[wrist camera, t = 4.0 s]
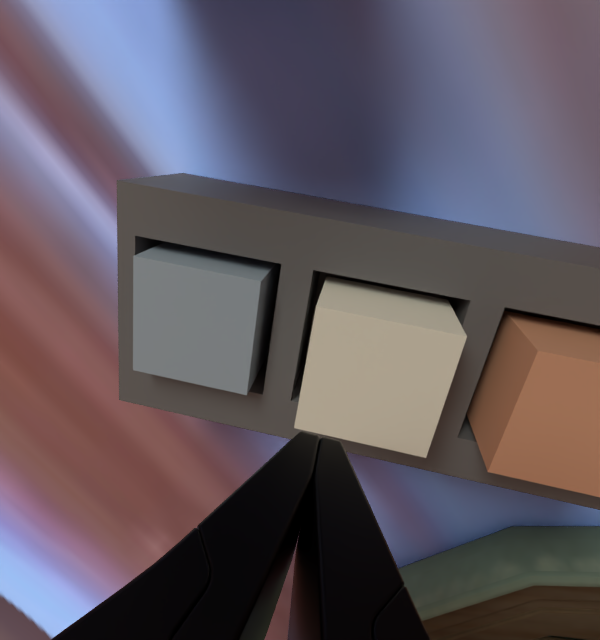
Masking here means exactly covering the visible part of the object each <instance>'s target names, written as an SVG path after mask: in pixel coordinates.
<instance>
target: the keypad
mask: <svg viewBox="0 0 600 640" xmlns="http://www.w3.org/2000/svg"><path fill="white" fill-rule="evenodd" d="M117 242H118V333H119V400H122V401H126V402H130V403H135V404H139V405H144V406H148V407H152V408H157V409H161V410H165V411H170V412H174V413H179V414H183V415H187V416H192V417H196V418H200V419H205V420H209V421H214V422H218V423H222V424H227V425H231V426H235V427H240V428H244V429H248V430H253V431H257V432H262V433H266V434H270V435H275V436H279V437H283V438H288V439H293V438H294V437H295V436H296V435H297V434H298V433H299V432H301V431H304V432H308V433H312V434H316V435H318V436H319V437H320V439H321V437H328V438H332V439H336V440H339V441H341V443H342V445H343V447H344V449H345V451H346V452H349V453H353V454H358V455H362V456H367V457H371V458H375V459H380V460H384V461H388V462H393V463H397V464H402V465H406V466H410V467H415V468H419V469H423V470H428V471H432V472H437V473H441V474H445V475H450V476H454V477H458V478H463V479H467V480H472V481H476V482H480V483H485V484H489V485H493V486H498V487H502V488H507V489H511V490H515V491H520V492H524V493H528V494H533V495H537V496H542V497H546V498H550V499H555V500H559V501H563V502H568V503H572V504H576V505H581V506H585V507H590V508H594V509H598V510H600V497H596V496H592V495H588V494H583V493H579V492H574V491H570V490H565V489H561V488H557V487H552V486H548V485H543V484H539V483H535V482H530V481H526V480H521V479H517V478H512V477H508V476H504V475H499V474H495V473H490V472H488V471H487V468H486V466H485V463H484V460H483V457H482V455H481V452H480V449H479V446H478V444H477V441H476V438H475V435H474V433H473V430H472V427H471V425H470V422H469V419H468V416H467V412H468V409H469V406H470V403H471V401H472V398H473V395H474V392H475V390H476V387H477V384H478V381H479V379H480V376H481V373H482V371H483V368H484V365H485V362H486V360H487V357H488V354H489V351H490V349H491V346H492V343H493V341H494V338H495V335H496V332H497V330H498V327H499V324H500V321H501V319H502V316H503V313H504V311H508V312H513V313H519V314H524V315H529V316H534V317H539V318H544V319H549V320H555V321H560V322H565V323H570V324H575V325H580V326H585V327H591V328H596V329H600V248H599V247H594V246H588V245H583V244H577V243H571V242H566V241H560V240H555V239H549V238H543V237H538V236H532V235H527V234H521V233H516V232H510V231H504V230H499V229H493V228H488V227H482V226H476V225H471V224H465V223H460V222H454V221H448V220H443V219H437V218H432V217H426V216H420V215H415V214H409V213H404V212H398V211H393V210H387V209H381V208H376V207H370V206H365V205H359V204H353V203H348V202H342V201H337V200H331V199H325V198H320V197H314V196H309V195H303V194H297V193H292V192H286V191H281V190H275V189H269V188H264V187H258V186H253V185H247V184H242V183H236V182H230V181H225V180H219V179H214V178H208V177H202V176H197V175H191V174H186V173H179V174H170V175H161V176H152V177H143V178H134V179H124V180H117ZM164 242H171V243H176V244H181V245H186V246H192V247H197V248H202V249H207V250H212V251H217V252H223V253H228V254H233V255H238V256H243V257H248V258H253V259H259V260H264V261H269V262H274V263H279V264H280V267H279V274H278V281H277V288H276V295H275V303H274V310H273V317H272V324H271V331H270V338H269V345H268V352H267V357H266V359H265V361H264V363H263V365H262V367H261V368H260V370H259V372H258V374H257V376H256V378H255V380H254V382H253V384H252V386H251V388H250V390H249V392H248V394H247V395H243V394H239V393H234V392H230V391H225V390H221V389H216V388H212V387H207V386H203V385H198V384H194V383H189V382H184V381H180V380H175V379H171V378H166V377H162V376H157V375H153V374H148V373H144V372H139V371H135V370H133V256H134V255H137V254H139V253H141V252H144V251H146V250H148V249H150V248H153V247H155V246H157V245H160V244H162V243H164ZM327 276H328V277H333V278H338V279H344V280H349V281H354V282H359V283H364V284H369V285H374V286H380V287H385V288H390V289H395V290H400V291H405V292H411V293H416V294H421V295H426V296H431V297H436V298H441V299H447V300H448V301H449V303H450V305H451V307H452V309H453V310H454V312H455V314H456V316H457V318H458V320H459V322H460V324H461V326H462V328H463V330H464V332H465V333H466V335H467V338H466V341H465V344H464V347H463V350H462V353H461V356H460V359H459V362H458V365H457V368H456V371H455V374H454V377H453V380H452V383H451V386H450V389H449V392H448V395H447V397H446V400H445V403H444V406H443V409H442V412H441V415H440V418H439V421H438V424H437V427H436V430H435V433H434V436H433V439H432V442H431V445H430V448H429V451H428V454H427V457H426V458H424V457H420V456H415V455H411V454H406V453H402V452H398V451H393V450H389V449H384V448H380V447H375V446H371V445H367V444H362V443H358V442H353V441H349V440H345V439H340V438H336V437H331V436H327V435H322V434H318V433H314V432H309V431H305V430H300V429H296V428H294V425H295V419H296V414H297V408H298V403H299V397H300V392H301V386H302V381H303V375H304V370H305V364H306V359H307V353H308V348H309V342H310V337H311V331H312V326H313V320H314V315H315V309H316V305H317V302H318V299H319V296H320V294H321V291H322V288H323V285H324V282H325V280H326V277H327Z"/></svg>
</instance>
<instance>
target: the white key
mask: <svg viewBox="0 0 600 640" xmlns="http://www.w3.org/2000/svg"><path fill="white" fill-rule="evenodd" d="M466 338H467V335H466V333H465V332H464V330H463V328H462V326H461V324H460V322H459V320H458V318H457V316H456V314H455V312H454V310H453V309H452V307H451V305H450V303H449V301H448V300H447V299H441V298H436V297H431V296H426V295H421V294H416V293H411V292H405V291H400V290H395V289H390V288H385V287H380V286H374V285H369V284H364V283H359V282H354V281H349V280H344V279H338V278H333V277H328V276H327V277H326V280H325V282H324V285H323V288H322V291H321V294H320V296H319V299H318V302H317V305H316V309H315V315H314V320H313V326H312V331H311V337H310V342H309V348H308V353H307V359H306V364H305V370H304V375H303V381H302V386H301V392H300V397H299V403H298V408H297V414H296V419H295V425H294V428H296V429H300V430H305V431H309V432H314V433H318V434H322V435H327V436H331V437H336V438H340V439H345V440H349V441H353V442H358V443H362V444H367V445H371V446H375V447H380V448H384V449H389V450H393V451H398V452H402V453H406V454H411V455H415V456H420V457H424V458H426V457H427V454H428V451H429V448H430V445H431V442H432V439H433V436H434V433H435V430H436V427H437V424H438V421H439V418H440V415H441V412H442V409H443V406H444V403H445V400H446V397H447V395H448V392H449V389H450V386H451V383H452V380H453V377H454V374H455V371H456V368H457V365H458V362H459V359H460V356H461V353H462V350H463V347H464V344H465V341H466Z"/></svg>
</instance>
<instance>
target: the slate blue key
mask: <svg viewBox="0 0 600 640" xmlns="http://www.w3.org/2000/svg"><path fill="white" fill-rule="evenodd" d="M279 267H280V264H279V263H274V262H269V261H264V260H259V259H253V258H248V257H243V256H238V255H233V254H228V253H223V252H217V251H212V250H207V249H202V248H197V247H192V246H186V245H181V244H176V243H171V242H164V243H162V244H160V245H157V246H155V247H153V248H150V249H148V250H146V251H144V252H141V253H139V254H137V255H134V256H133V370H135V371H139V372H144V373H148V374H153V375H157V376H162V377H166V378H171V379H175V380H180V381H184V382H189V383H194V384H198V385H203V386H207V387H212V388H216V389H221V390H225V391H230V392H234V393H239V394H243V395H247V394H248V392H249V390H250V388H251V386H252V384H253V382H254V380H255V378H256V376H257V374H258V372H259V370H260V368H261V367H262V365H263V363H264V361H265V359H266V357H267V352H268V345H269V338H270V331H271V324H272V317H273V310H274V303H275V295H276V288H277V281H278V274H279Z"/></svg>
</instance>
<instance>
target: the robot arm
mask: <svg viewBox="0 0 600 640" xmlns="http://www.w3.org/2000/svg"><path fill="white" fill-rule="evenodd" d="M299 531H300V532H299ZM298 536H299V537H298ZM297 540H298V542H297ZM296 544H297V548H296ZM295 548H296V556H295V565H294V576H293V587H292V598H291V609H290V620H289V631H288V640H431V639H430V636H429V634H428V632H427V630H426V628H425V626H424V624H423V622H422V620H421V618H420V616H419V614H418V611H417V609H416V607H415V605H414V603H413V600H412V598H411V596H410V594H409V591H408V589H407V587H405V586H404V581H403V578H402V576H401V574H400V572H399V569H398V567H397V565H396V563H395V561H394V558H393V556H392V554H391V552H390V549H389V547H388V545H387V543H386V540H385V538H384V536H383V534H382V532H381V529H380V527H379V525H378V523H377V520H376V518H375V516H374V514H373V511H372V509H371V507H370V505H369V503H368V500H367V498H366V496H365V494H364V491H363V489H362V487H361V485H360V482H359V480H358V478H357V476H356V474H355V471H354V469H353V467H352V465H351V462H350V460H349V458H348V456H347V453H346V451H345V449H344V447H343V445H342V443H341V441H339V440H336V439H332V438H328V437H321V439H320V437H319V436H318V435H316V434H312V433H308V432H304V431H301V432H299V433H298V434H297V435H296V436H295V437H294V438H293V439H292V440H290V441H289V442H288V443H287V444H286V445H285V446H284V447H283V448H282V449H281V450H280V451H278V452H277V453H276V454H275V455H274V456H273V457H272V458H271V459H270V460H269V461H268V462H266V463H265V464H264V465H263V466H262V467H261V468H260V469H259V470H258V471H257V472H255V473H254V474H253V475H252V476H251V477H250V478H249V479H248V480H247V481H246V482H245V483H243V484H242V485H241V486H240V487H239V488H238V489H237V490H236V491H235V492H234V493H233V494H231V495H230V496H229V497H228V498H227V499H226V500H225V501H224V502H223V503H222V504H221V505H219V506H218V507H217V508H216V509H215V510H214V511H213V512H212V513H211V514H210V515H209V516H207V517H206V518H205V519H204V520H203V521H202V522H201V523H200V524H199V525H198V526H197V528H194V529H193V530H192V531H191V532H190V533H189V534H188V535H186V536H185V537H184V538H183V539H182V540H181V541H180V542H179V543H178V544H177V545H175V546H174V547H173V548H172V549H171V550H170V551H168V552H167V553H166V554H165V555H164V556H163V557H161V558H160V559H159V560H158V561H157V562H156V563H154V564H153V565H152V566H150V567H149V568H148V569H146V570H145V571H144V572H143V573H141V574H140V575H139V576H137V577H136V578H135V579H133V580H132V581H131V582H129V583H128V584H127V585H125V586H124V587H123V588H121V589H120V590H119V591H117V592H116V593H114V594H113V595H112V596H110V597H109V598H108V599H106V600H105V601H103V602H102V603H101V604H99V605H98V606H97V607H95V608H94V609H92V610H91V611H90V612H88V613H87V614H86V615H84V616H83V617H81V618H80V619H79V620H77V621H76V622H74V623H73V624H72V625H70V626H69V627H68V628H66V629H65V630H63V631H62V632H61V633H59V634H58V635H57V636H55V637H54V638H52V639H51V640H264V639H265V636H266V633H267V630H268V628H269V625H270V622H271V619H272V616H273V613H274V610H275V607H276V604H277V601H278V599H279V596H280V593H281V590H282V587H283V584H284V581H285V578H286V575H287V572H288V570H289V567H290V564H291V561H292V558H293V554H294V551H295Z"/></svg>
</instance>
